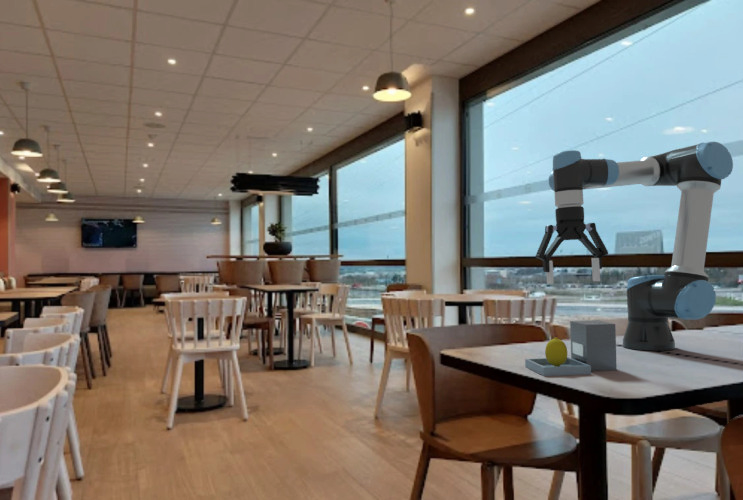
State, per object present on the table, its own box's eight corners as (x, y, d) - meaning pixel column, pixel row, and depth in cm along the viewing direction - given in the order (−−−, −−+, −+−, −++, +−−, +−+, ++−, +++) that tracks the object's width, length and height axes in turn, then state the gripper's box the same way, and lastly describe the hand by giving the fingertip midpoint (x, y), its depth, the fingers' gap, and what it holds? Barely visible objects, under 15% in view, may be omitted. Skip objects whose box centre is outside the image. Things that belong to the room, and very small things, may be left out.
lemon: (564, 365, 147) (564, 335, 147) (570, 370, 141) (569, 338, 141) (543, 365, 147) (542, 336, 147) (548, 370, 142) (547, 338, 142)
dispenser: (600, 363, 152) (599, 320, 152) (618, 370, 143) (616, 323, 143) (570, 364, 151) (569, 321, 152) (586, 371, 142) (584, 324, 143)
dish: (569, 365, 151) (568, 357, 151) (591, 374, 139) (590, 365, 139) (525, 366, 150) (525, 358, 150) (543, 375, 137) (543, 367, 138)
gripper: (604, 206, 159) (608, 279, 159) (521, 209, 156) (525, 284, 156) (618, 203, 152) (622, 280, 151) (532, 207, 149) (536, 285, 149)
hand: (573, 282), depth 154 cm, fingers open, 13 cm apart
